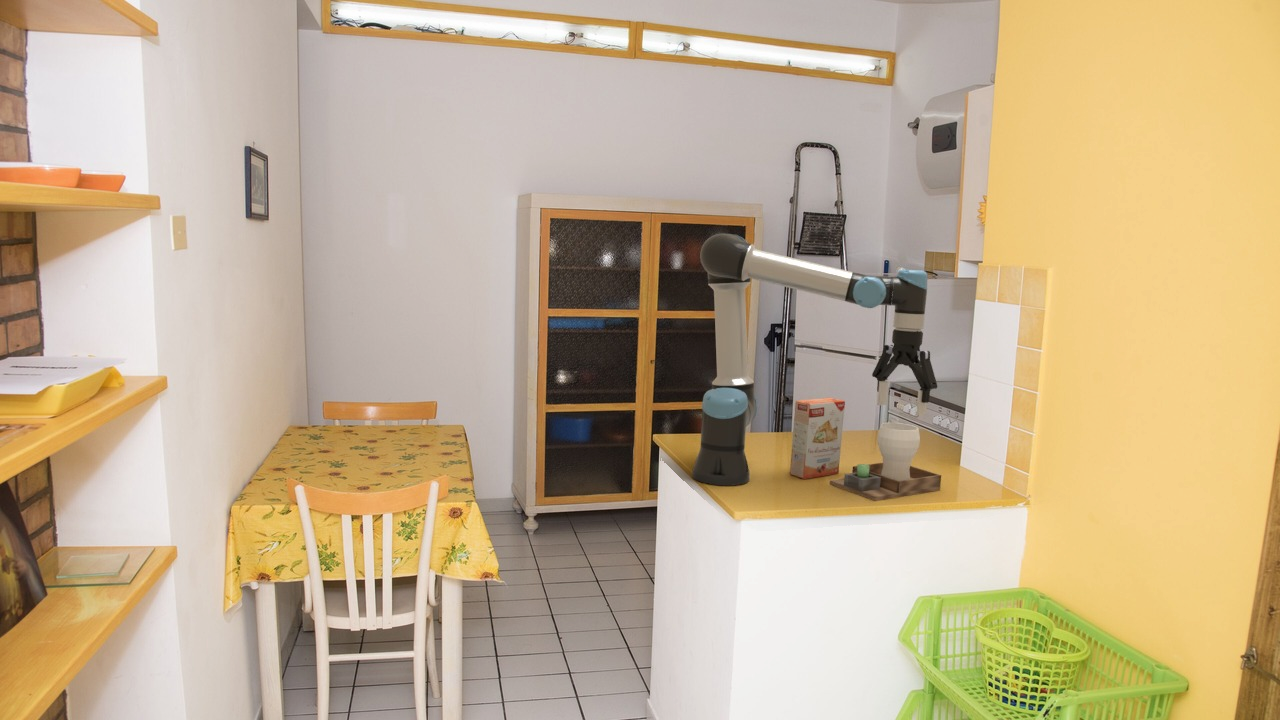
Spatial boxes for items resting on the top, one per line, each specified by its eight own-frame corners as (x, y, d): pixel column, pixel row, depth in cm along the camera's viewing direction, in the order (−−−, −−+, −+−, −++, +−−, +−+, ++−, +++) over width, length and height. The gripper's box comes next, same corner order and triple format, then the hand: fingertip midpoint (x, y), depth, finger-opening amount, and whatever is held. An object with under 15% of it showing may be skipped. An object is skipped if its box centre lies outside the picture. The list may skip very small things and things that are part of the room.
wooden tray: (874, 500, 211) (876, 485, 210) (829, 484, 224) (830, 469, 224) (939, 490, 223) (941, 475, 223) (893, 474, 237) (894, 460, 236)
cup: (909, 489, 219) (914, 432, 216) (868, 482, 224) (873, 426, 222) (920, 481, 227) (925, 426, 225) (881, 473, 233) (886, 420, 231)
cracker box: (805, 480, 227) (810, 403, 224) (788, 475, 232) (793, 399, 229) (840, 474, 235) (846, 400, 232) (824, 469, 240) (829, 396, 237)
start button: (862, 480, 217) (863, 467, 217) (854, 477, 220) (855, 464, 219) (870, 479, 219) (871, 466, 218) (862, 476, 221) (863, 463, 221)
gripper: (956, 334, 211) (948, 418, 214) (883, 324, 233) (876, 400, 236) (935, 335, 208) (928, 420, 210) (863, 324, 229) (856, 401, 232)
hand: (901, 409), depth 223 cm, fingers open, 13 cm apart
